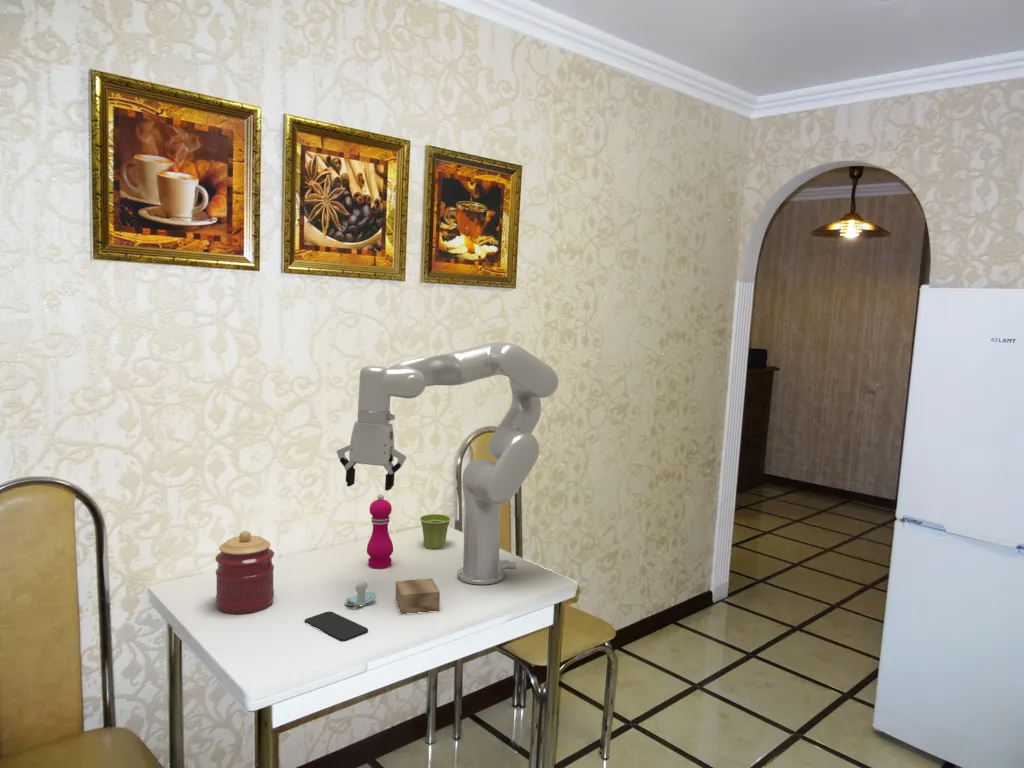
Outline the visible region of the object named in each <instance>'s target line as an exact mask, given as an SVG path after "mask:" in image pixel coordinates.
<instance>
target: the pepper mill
mask: <svg viewBox="0 0 1024 768" xmlns="http://www.w3.org/2000/svg"><path fill="white" fill-rule="evenodd" d="M392 510H393V509H392V505H391V502H390V501H388V500H387V499H385V496H384V494H383V493H380V494H378V495H377V499H376V500H374V501H373V502H371V503H370V506H369V514H370V515H371V516H372V517H371V518H370V519H371V524H372V532H371V536H370V537H369V540H368V542H367V546H366V554H367V555H368V556H369V558H368V567H369V566H370V567H369V568H371V567H372V569H376V568H378V569H377V570H379V568H380V570H381V568H382V569H387V568H389V567H391V565H392V557H391V555H393V553H394V545H393V541H392V539H391V537H390V534H389V533H390V532H389V523H390V522H391V521H390V514H391V513H392Z"/></svg>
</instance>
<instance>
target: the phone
mask: <svg viewBox="0 0 1024 768" xmlns="http://www.w3.org/2000/svg"><path fill="white" fill-rule="evenodd" d="M304 621H305V622H306V623H308V624H310V625H312V626H314V627H316V628H318V629H320V630H321V631H323V632H324V634H325V633H326V635H327V634H328V635H327V636H329V637H331V638H333V639H335V640H337V641H339V642H348V641H350V640H354V639H355V638H357V637H360V636H364V635H366V634H367V633H369V629H368V627H365V626H364V625H362V624H359V623H357V622H354V621H353V620H351V619H349V618H347V617H344V616H342V615H340V614H338V613H335V612H333V611H325V612H322V613H319V614H317V615H316V614H315V615H313V616H311V617H307V618H305V619H304ZM305 622H304V623H305ZM306 623H305V624H306ZM308 624H307V625H308ZM310 625H309V626H310ZM312 626H311V627H312ZM314 627H313V628H314ZM316 628H315V629H316ZM318 629H317V630H318ZM320 630H319V631H320ZM321 631H320V632H321ZM323 632H322V633H323Z"/></svg>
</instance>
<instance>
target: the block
mask: <svg viewBox="0 0 1024 768" xmlns="http://www.w3.org/2000/svg"><path fill="white" fill-rule="evenodd" d="M440 593H441V592H440V590H439V588H438V586H437V584H436V583H435V580H434V578H432V577H431V578H420V579H408V580H406V579H405V580H397V581H395V602H396V601H397V603H396V605H397V604H398V605H397V607H399V608H398V610H399V609H400V611H399V613H400V612H401V613H400V615H401V614H406V615H408V614H407V613H416V614H419V613H418V612H427V613H429V612H428V611H437V612H440Z"/></svg>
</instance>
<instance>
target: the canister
mask: <svg viewBox="0 0 1024 768" xmlns="http://www.w3.org/2000/svg"><path fill="white" fill-rule="evenodd" d="M270 547H271V542H270V540H269V541H268V539H265V538H263V537H262V536H258V535H252V534H251V532H250V531H249V530H243V531H241V532H240V533H239V535H238V536H235V537H231V538H229V539H228V540H226V541H225V542H224V543H221V544H220V546H219V547H218V549H219V551H220V552H218V553H217V554H216V556H215V561H216V562H217V569H216V570H215V575H216V578H215V579H216V595H215V603H216V607H217V609H218V610H219V611H221V612H223V613H226V614H235V615H239V614H240V615H241V614H250V613H255V612H258V611H262V610H264V609H267V608H268V607H270V606H271V605H272V604H273V602H274V598H275V589H274V570H275V565H274V564H273V559H272V558H273V557H274V556H275V552H274V551H273V549H271V548H270Z"/></svg>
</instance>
